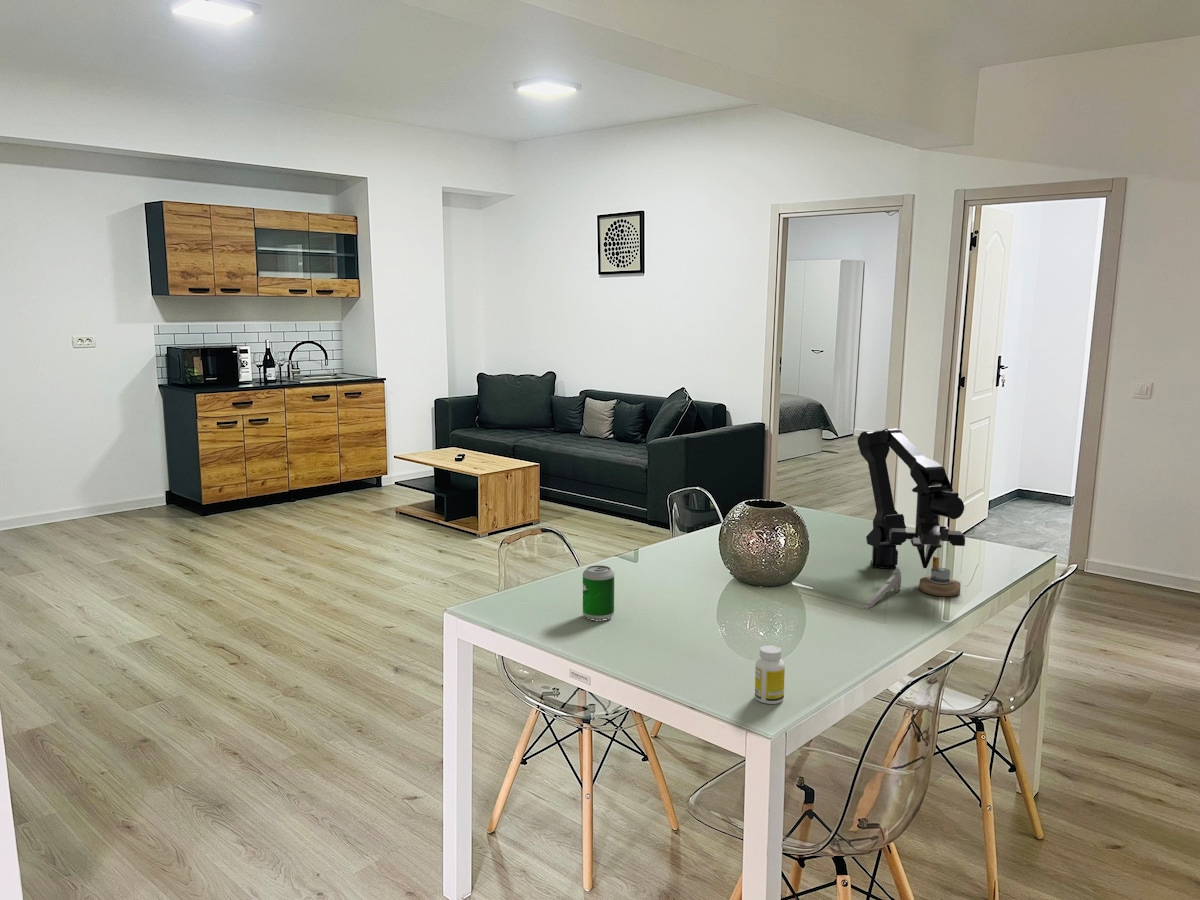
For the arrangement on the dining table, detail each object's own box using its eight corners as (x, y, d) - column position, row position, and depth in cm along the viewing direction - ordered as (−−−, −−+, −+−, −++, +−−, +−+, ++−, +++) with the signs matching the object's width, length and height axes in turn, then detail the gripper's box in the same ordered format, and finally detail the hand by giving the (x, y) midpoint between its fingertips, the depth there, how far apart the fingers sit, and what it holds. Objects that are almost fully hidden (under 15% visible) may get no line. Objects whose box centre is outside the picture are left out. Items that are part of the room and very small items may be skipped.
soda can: (619, 615, 215) (620, 567, 213) (604, 624, 208) (604, 575, 207) (593, 610, 219) (593, 562, 217) (576, 619, 212) (576, 570, 210)
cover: (931, 584, 231) (931, 571, 230) (928, 578, 236) (928, 566, 235) (952, 585, 230) (953, 573, 229) (949, 579, 235) (949, 567, 234)
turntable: (963, 597, 227) (965, 571, 226) (922, 594, 229) (923, 569, 228) (953, 581, 241) (955, 557, 240) (914, 579, 243) (916, 555, 242)
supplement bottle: (788, 697, 169) (790, 648, 167) (775, 707, 165) (777, 656, 163) (762, 690, 172) (764, 641, 171) (749, 700, 168) (750, 650, 166)
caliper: (896, 589, 235) (897, 566, 235) (900, 590, 235) (901, 567, 234) (863, 609, 220) (864, 584, 219) (867, 610, 219) (869, 585, 218)
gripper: (894, 516, 232) (891, 574, 234) (970, 519, 228) (967, 578, 230) (890, 507, 243) (887, 562, 245) (962, 510, 239) (959, 566, 241)
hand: (924, 567), depth 240 cm, fingers closed
